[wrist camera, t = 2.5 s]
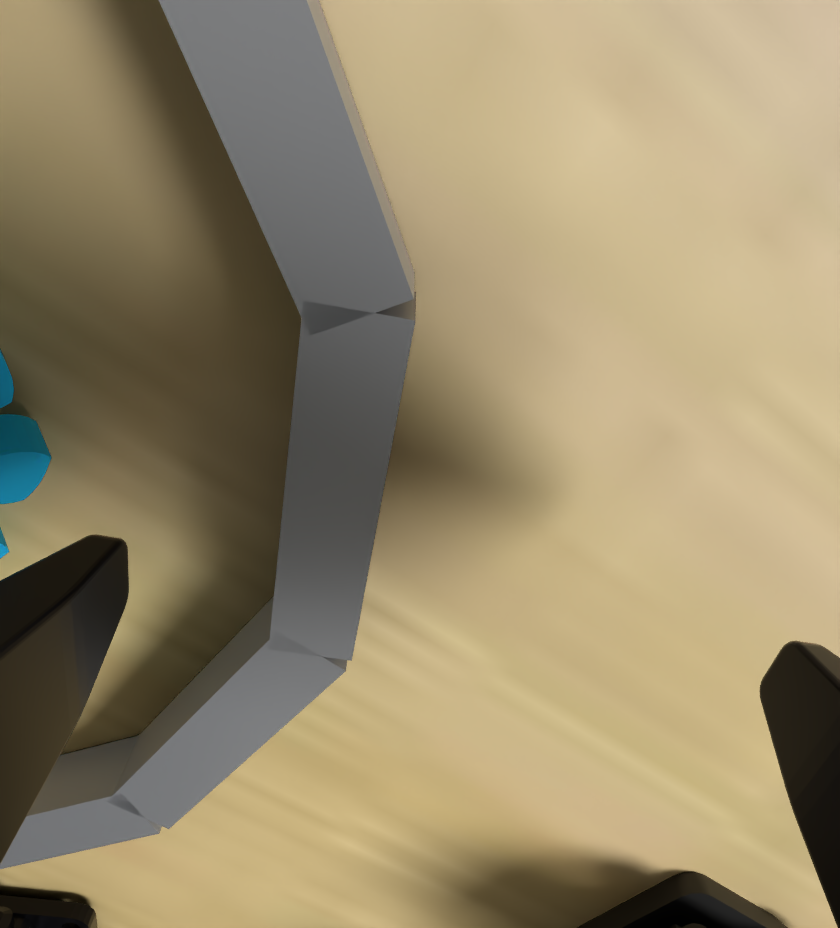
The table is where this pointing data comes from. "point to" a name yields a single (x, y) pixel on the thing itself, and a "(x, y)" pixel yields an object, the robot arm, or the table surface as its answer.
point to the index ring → (312, 425)
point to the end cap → (686, 907)
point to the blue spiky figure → (18, 451)
